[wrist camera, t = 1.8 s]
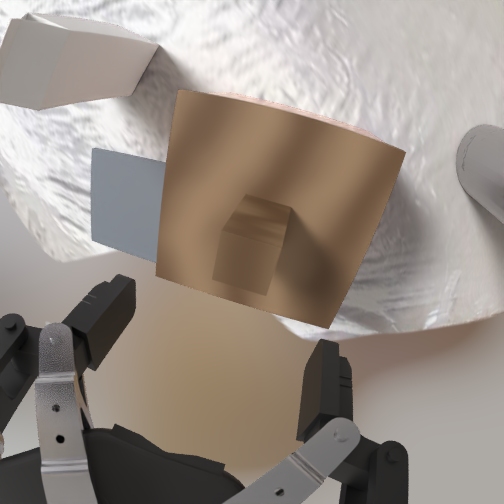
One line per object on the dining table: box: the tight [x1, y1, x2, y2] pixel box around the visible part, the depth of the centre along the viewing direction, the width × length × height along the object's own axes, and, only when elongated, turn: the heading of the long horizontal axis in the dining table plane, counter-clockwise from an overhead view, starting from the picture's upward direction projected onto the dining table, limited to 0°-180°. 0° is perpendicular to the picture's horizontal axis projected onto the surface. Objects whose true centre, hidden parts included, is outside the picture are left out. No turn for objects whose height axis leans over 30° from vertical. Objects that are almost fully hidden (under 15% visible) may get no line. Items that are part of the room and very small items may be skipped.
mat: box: [91, 148, 166, 263], centre depth 38 cm, size 14×14×1 cm
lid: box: [156, 90, 406, 329], centre depth 20 cm, size 16×16×7 cm
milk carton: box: [0, 13, 159, 111], centre depth 21 cm, size 7×7×19 cm
